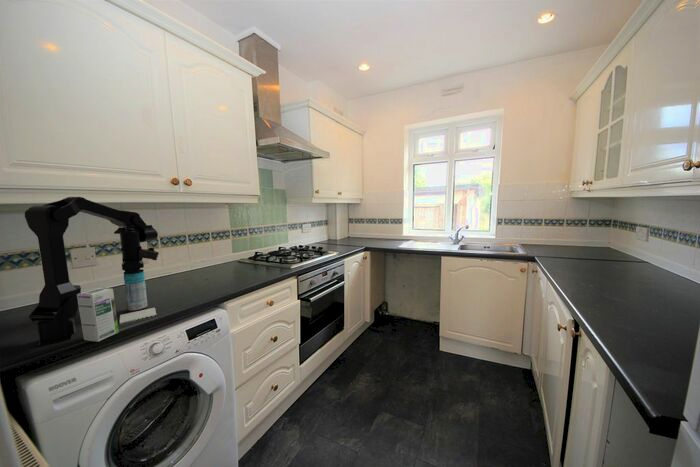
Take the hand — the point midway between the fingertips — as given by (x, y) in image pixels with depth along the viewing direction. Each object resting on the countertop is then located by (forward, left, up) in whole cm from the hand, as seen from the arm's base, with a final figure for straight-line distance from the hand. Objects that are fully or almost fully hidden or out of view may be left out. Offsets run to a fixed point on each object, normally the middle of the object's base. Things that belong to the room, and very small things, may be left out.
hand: (134, 282), depth 103 cm
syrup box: (-9, -26, -9) cm, 29 cm away
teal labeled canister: (0, -7, -9) cm, 12 cm away
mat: (0, -15, -9) cm, 17 cm away
